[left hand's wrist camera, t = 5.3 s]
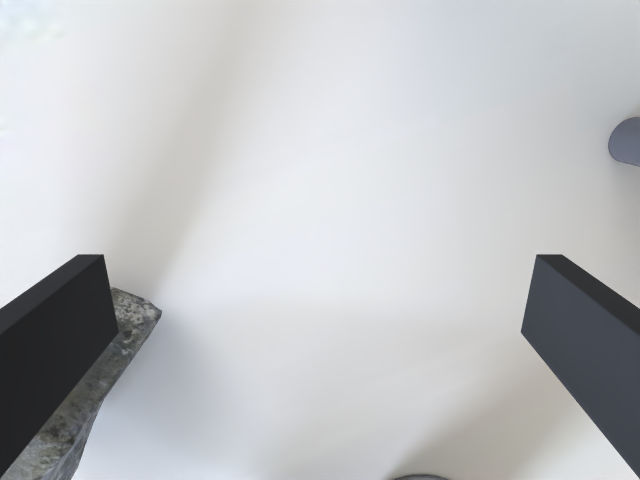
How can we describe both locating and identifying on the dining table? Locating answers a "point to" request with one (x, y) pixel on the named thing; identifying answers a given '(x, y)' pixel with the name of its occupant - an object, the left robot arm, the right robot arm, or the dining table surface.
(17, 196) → the dining table surface
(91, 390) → the concrete block
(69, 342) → the left robot arm
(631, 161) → the jar
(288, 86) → the dining table surface
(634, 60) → the dining table surface
